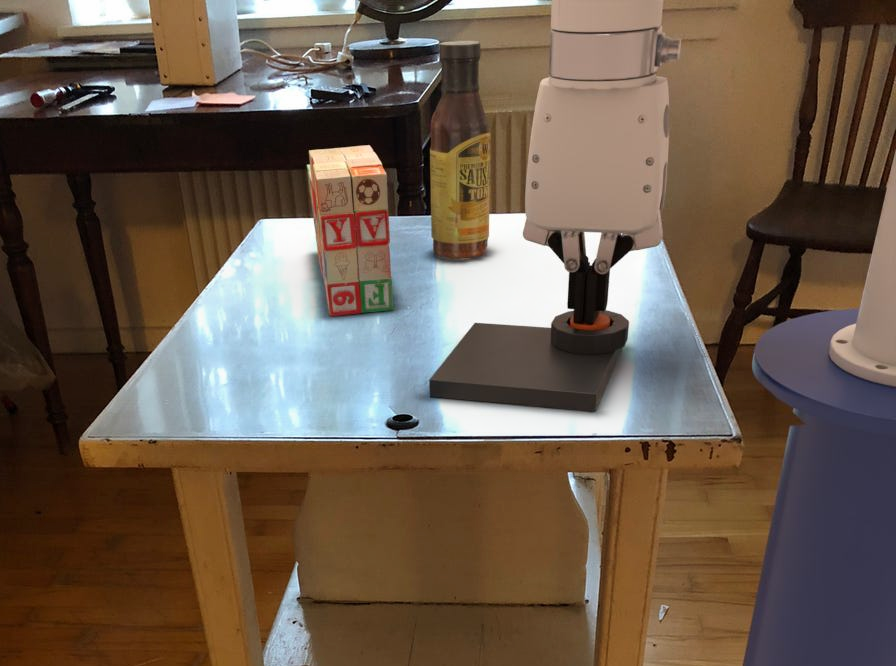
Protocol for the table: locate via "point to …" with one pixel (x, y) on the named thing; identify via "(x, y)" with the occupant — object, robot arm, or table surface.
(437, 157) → the sauce bottle
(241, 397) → the table surface
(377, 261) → the stack of blocks
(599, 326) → the button
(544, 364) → the scale
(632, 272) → the table surface
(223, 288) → the table surface
